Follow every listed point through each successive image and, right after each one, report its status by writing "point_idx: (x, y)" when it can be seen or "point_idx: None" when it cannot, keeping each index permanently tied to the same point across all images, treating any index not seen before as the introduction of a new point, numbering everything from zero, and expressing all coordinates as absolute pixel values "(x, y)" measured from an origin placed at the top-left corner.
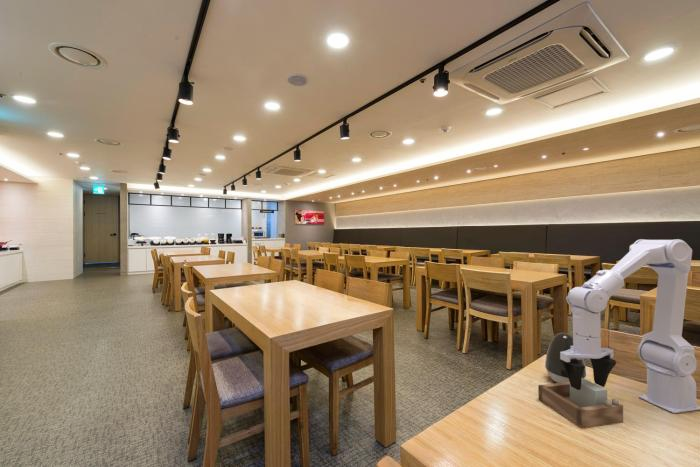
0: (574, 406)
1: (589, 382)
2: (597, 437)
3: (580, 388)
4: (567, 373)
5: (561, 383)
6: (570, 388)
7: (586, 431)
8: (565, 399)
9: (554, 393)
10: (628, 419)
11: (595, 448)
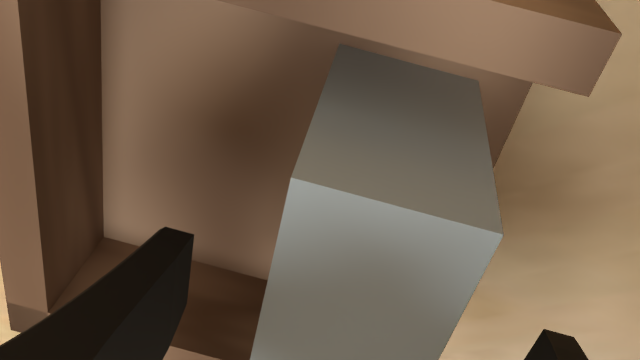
0: (8, 287)
1: (406, 346)
2: None
3: (179, 320)
4: (39, 332)
5: None
6: (318, 110)
7: None
8: (23, 208)
9: (2, 98)
10: (491, 336)
11: (5, 328)
